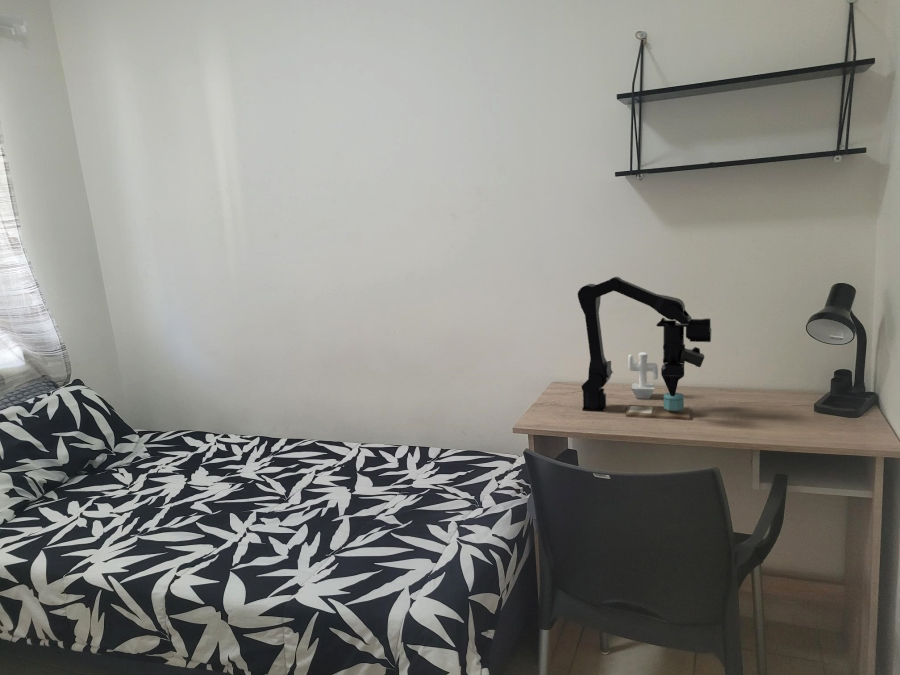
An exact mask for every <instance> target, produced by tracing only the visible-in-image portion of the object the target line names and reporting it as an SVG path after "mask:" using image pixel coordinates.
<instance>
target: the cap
mask: <svg viewBox="0 0 900 675" xmlns="http://www.w3.org/2000/svg"><path fill="white" fill-rule="evenodd" d="M684 397H685V396H684V394H683V393H682V392H676V393H675V396H671V395H670V393H669V392H665V393H663V406H664V409H667V410H675V411H678V410H683V409H684V407H685V406H684V402H685V401H684V400H685V398H684Z"/></svg>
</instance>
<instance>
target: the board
mask: <svg viewBox="0 0 900 675" xmlns="http://www.w3.org/2000/svg"><path fill="white" fill-rule="evenodd" d="M690 416H691V415H690V407H685V406H684V409H683V410H678V411H675V410H667V409H664V405H663V406H662V405H642V404H641V405H639V404H638V405H637V404H628V407H627V410H626V413H625V417H626V418H629V417H630V418H643V419H644V418H645V419H662V420H663V419H665V420H682V421H685V420H686V421H690V418H691V417H690Z"/></svg>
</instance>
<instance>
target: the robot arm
mask: <svg viewBox="0 0 900 675" xmlns="http://www.w3.org/2000/svg"><path fill="white" fill-rule="evenodd" d="M612 292H616V293H619V294H621V295H623V296H625V297H628V298H630V299H633V300H635V301H637V302H640V303H641V304H644V305H646V306H648V307H650V308H652V309H653V310H654V311H656V312H657V313H658V314H659V315H661V316H663V317H662V318H661V319H660V321H658V322H657V324H656V327H660V328H661V327H663V345H662V351H663V352H662V353H663V356H662V357H663V358H662V364H663V365H661V368H660V375H661V377H662V379H663V381H664V383H665V385H666V388H667V391H668V393H670V395H671V396H675V393H677V388H678V385H679V384H678V383H679V381H680V380H681V379H682V378H684V377H685V364H686V363H688V364H691V365H693V366H695V367H698V368H701V367H702V365H703V362H704V359H705V354H704V353H702V352H701V350H700V349H701V348H699V347H698V346H694V347H692V349H691V348H689V349H688V348H686V344H685V338H686V339H687V340H689V342H692V343H695V342H696V343H697V342H698V343H711V341H712V327H711V325H712V324H711V318H708V317H707V318H692V316H691V315H690V314H689V313H688V311H687V310H686V307H685V306H686V305H685V303H684V301H683V300H682V299H680V298H677V297H673V296H669V295H665V294H659V293H658V294H657V293H655V292H653V291H650V290H648V289H646V288H643V287H641V286H638V285H636V284H634V283H632V282H629V281H627V280H624V279H622V277H619V276H614V277H612V278H610V279H608V280H606V281H603V282H600V283H598V284H595V283H588V284H586V285H584V286H583V285H582V287H580V288H579V290H578V291H577V299H578V303H579V306H580V308H581V310H582V312H583V314H584V319H585V325H586V326H585V327H586V334H587V341H588V350H589V357H590V358H589V366H588V374H587V375H588V376H587V377H588V379H587V380H586V381H584V383H583V384H582V385H581V390H582V397H583V399H582V400H583V401H582V402H583V403H582V405H583V407H581V408H582V411H592V412H603V411H604V410H605V408H606V407H607V393H606V392H605V388H603V387H605V386H606V384H607V383H608V382H609V380H610V379H611V376H612V374H614V371H613V370H612V361H611V360H607V358H606V357H605V353H604V352H605V351H604V345H603V344H604V343H603V337H602V329H601V322H600V321H601V320H600V314H599V313H600V308H601V307H600V306H601V297H602V296H604V295H606V294H609V293H612ZM665 318H666V319H665Z"/></svg>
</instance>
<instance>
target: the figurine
mask: <svg viewBox="0 0 900 675" xmlns="http://www.w3.org/2000/svg"><path fill="white" fill-rule="evenodd" d="M627 356H628V357H627V358H628V360H627V364H628V365H627V366H628V370H629V371H631V372H638V373H639V374H638V376H639V377H638V378H639V381H638V383H637V382H633V383H632V384H631V391H632V392H633V395H634V396H635V399H643V400H644V399H645V400H647V399H648V400H650V399H651V398H652V395H653V393H654V391H655V389H656V388H655V385H656V384H655V383H648V372H652V378H653V380H658V379H659V367H658V366H659V365H658V364H657V363H656V362H648V353H647V352H645V351H643V352H642V351H640V352H639V353H638V362H634V355H633V354H628V355H627Z"/></svg>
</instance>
